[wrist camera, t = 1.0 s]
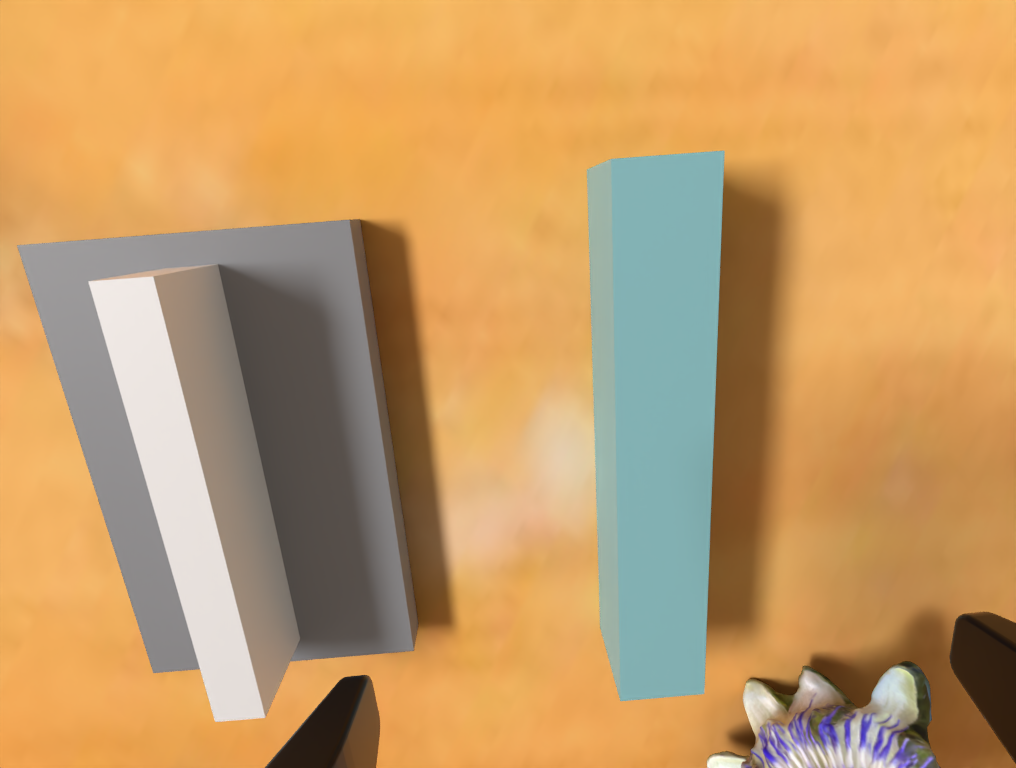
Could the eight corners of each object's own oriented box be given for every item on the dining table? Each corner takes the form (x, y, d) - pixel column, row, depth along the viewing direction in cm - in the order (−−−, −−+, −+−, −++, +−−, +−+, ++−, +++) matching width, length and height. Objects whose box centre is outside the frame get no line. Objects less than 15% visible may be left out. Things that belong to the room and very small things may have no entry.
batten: (669, 616, 24) (704, 693, 20) (599, 623, 24) (620, 701, 20) (675, 163, 19) (724, 150, 15) (585, 170, 19) (611, 159, 15)
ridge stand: (418, 623, 23) (400, 730, 18) (174, 644, 23) (92, 757, 18) (359, 219, 19) (315, 221, 14) (53, 243, 18) (-99, 253, 14)
